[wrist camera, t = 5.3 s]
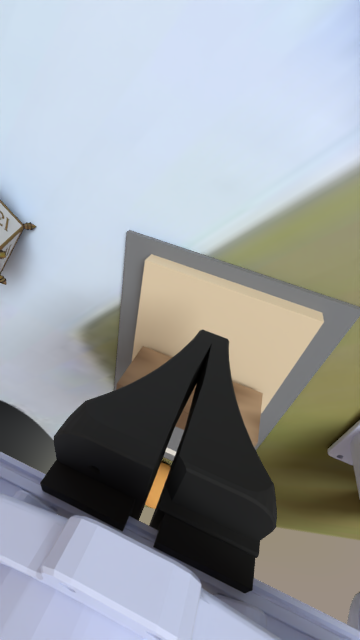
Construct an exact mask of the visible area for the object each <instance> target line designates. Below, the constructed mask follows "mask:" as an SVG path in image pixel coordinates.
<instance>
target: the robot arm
mask: <svg viewBox="0 0 360 640" xmlns="http://www.w3.org/2000/svg"><path fill="white" fill-rule="evenodd" d="M196 383H197V384H196ZM195 385H196V388H195V392H194V396H193V399H192V403H191V407H190V411H189V415H188V418H187V422H186V426H185V429H184V432H183V435H182V438H181V441H180V443H179V446H178V449H177V452H176V454H175V457H174V460H173V463H172V465H171V468H170V471H169V474H168V476H167V479H166V482H165V484H164V487H163V490H162V493H161V495H160V498H159V501H158V504H157V506H156V509H155V512H154V515H153V517H152V520H151V523H150V525H149V526H148V525H146V524H144V523H142V522H140V521H139V518H140V516H141V513H142V510H143V508H144V505H145V503H146V500H147V498H148V495H149V492H150V490H151V487H152V485H153V482H154V479H155V477H156V474H157V472H158V469H159V467H160V464H161V461H162V459H163V456H164V454H165V451H166V449H167V446H168V443H169V441H170V438H171V436H172V433H173V431H174V428H175V426H176V424H177V422H178V419H179V417H180V415H181V413H182V411H183V409H184V407H185V405H186V403H187V401H188V399H189V397H190V395H191V393H192V391H193V389H194V387H195ZM54 446H55V452H56V457H57V460H56V461H55V463H54V464H53V466H52V467H51V468H50V470H49V471H48V473H47V474H44V473H42V472H40V471H38V470H36V469H34V468H32V467H30V466H28V465H26V464H24V463H22V462H20V461H18V460H16V459H14V458H12V457H10V456H8V455H6V454H3V453H2V452H0V640H360V592H359V593H357V594H356V595H355V596H354V598H353V600H352V603H351V606H350V612H349V616H348V622H347V624H345V623H343V622H341V621H339V620H337V619H335V618H333V617H331V616H329V615H327V614H325V613H323V612H321V611H319V610H317V609H315V608H313V607H311V606H309V605H307V604H305V603H303V602H301V601H299V600H297V599H295V598H293V597H291V596H289V595H287V594H285V593H283V592H281V591H279V590H277V589H275V588H273V587H271V586H269V585H267V584H265V583H263V582H261V581H259V580H257V579H255V578H254V566H255V558H257V557H258V555H259V545H260V540H261V539H263V538H264V537H266V536H267V535H268V534H270V533H271V532H272V531H273V530H274V529H275V528H276V520H277V508H276V497H275V489H274V484H273V482H272V481H271V479H270V477H269V475H268V473H267V472H266V470H265V468H264V466H263V464H262V462H261V460H260V458H259V456H258V454H257V452H256V450H255V448H254V446H253V444H252V441H251V439H250V436H249V434H248V432H247V429H246V427H245V424H244V422H243V419H242V416H241V413H240V410H239V407H238V403H237V400H236V396H235V392H234V387H233V383H232V377H231V370H230V362H229V340H228V339H227V338H224V337H221V336H219V335H216V334H213V333H211V332H208V331H205V330H200V331H199V332H198V334H197V335H196V336H195V337H194V338H193V339H192V340H191V341H190V342H189V343H188V344H187V345H186V346H185V347H184V348H183V349H182V350H181V351H180V352H179V353H177V354H176V355H175V356H174V357H172V358H171V359H170V360H168V361H167V362H166V363H164V364H163V365H161V366H160V367H159V368H157V369H155V370H154V371H152V372H151V373H149V374H147V375H145V376H144V377H142V378H140V379H138V380H136V381H134V382H132V383H130V384H128V385H126V386H124V387H121V388H119V389H117V390H115V391H112V392H110V393H107V394H104V395H102V396H99V397H96V398H93V399H90V400H87V401H85V402H84V403H83V404H82V405H81V406H80V407H78V408H77V409H76V410H75V411H74V412H73V413H72V414H71V415H70V416H69V418H68V419H67V420H66V421H65V423H64V424H63V425H62V426H61V428H60V429H59V430H58V432H57V433H56V434H55V436H54ZM328 455H329V456H331V457H333V458H336V459H338V460H340V461H343V462H345V463H348V464H350V465H353V467H354V472H355V477H356V482H357V488H358V493H359V498H360V420H359V421H358V422H357V423H356V424H355V425H354V426H353V427H351V428H350V429H349V430H348V431H347V432H346V433H345V434H344V435H343V436H341V437H340V438H339V439H338V440H337V441H336V442H335V443H334V444H333V445H332V446H330V447H329V448H328ZM57 514H58V515H57Z"/></svg>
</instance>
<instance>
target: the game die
mask: <svg viewBox="0 0 360 640" xmlns="http://www.w3.org/2000/svg"><path fill="white" fill-rule="evenodd" d="M35 227H36V226H35V225H33V224H31V222H30V223H26V224H22V222H21V221H20V220H19V219H18V218H17V217H16V216H15V215H14V214H13V213H12V212H11V211H10V210H9V209H8V207H7V206H6V205H5V204H4V203H3V202H2V201H1V200H0V274H1V272H2V270H3V268H4V266H5V264H6V262H7V260H8V258H9V256H10V255H11V253H12V251H13V249H14V247H15V245H16V243H17V241H18V239H19V237H20V235H21V233H22V231H23V229H27V230H29V229H31V230H32V229H33V228H35ZM0 283H2V284H5V285H6V279H5V278H4V276H1V275H0Z"/></svg>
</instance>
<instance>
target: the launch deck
mask: <svg viewBox="0 0 360 640" xmlns="http://www.w3.org/2000/svg"><path fill="white" fill-rule="evenodd" d="M359 316H360V307H358V306H355V305H352V304H349V303H346V302H343V301H340V300H337V299H334V298H331V297H328V296H325V295H322V294H319V293H316V292H313V291H310V290H307V289H304V288H301V287H298V286H295V285H292V284H289V283H286V282H283V281H280V280H277V279H274V278H272V277H269V276H266V275H263V274H260V273H257V272H254V271H251V270H248V269H245V268H242V267H239V266H236V265H233V264H230V263H227V262H224V261H221V260H218V259H215V258H212V257H209V256H206V255H203V254H200V253H197V252H194V251H191V250H188V249H185V248H182V247H179V246H176V245H173V244H170V243H167V242H164V241H161V240H158V239H155V238H152V237H149V236H146V235H143V234H140V233H137V232H134V231H131V230H129V231H127V237H126V250H125V262H124V274H123V286H122V299H121V311H120V323H119V335H118V347H117V360H116V372H115V384H114V391H115V390H116V389H117V383H118V381H119V380H120V378H121V377H122V375H123V374H124V373H125V371H126V370H127V368H128V367H129V365H130V364H131V362H132V361H133V359H134V358H135V357H136V355H137V354H138V352H139V351H140V349H141V348H142V346H144V347H147V348H149V349H152V350H154V351H157V352H159V353H162V354H164V355H167V356H169V357H174V356H175V355H176V354H177V353H179V352H180V351H181V350H182V349H183V348H184V347H185V346H186V345H187V344H188V343H189V342H190V341H191V340H192V339H193V338H194V337H195V336H196V335H197V334H198V332H199V331H200V330H205V331H208V332H211V333H213V334H216V335H219V336H221V337H224V338H227V339H228V340H229V362H230V370H231V377H232V381H233V382H235V383H238V384H240V385H243V386H246V387H248V388H251V389H253V390H256V391H258V392H261V393H263V397H262V406H261V416H260V426H259V436H258V443H257V444H256V446H255V447H254V448H255V450H257V448H258V447H259V446H260V444H261V443H262V442H263V441H264V439H265V438H266V437H267V435H268V434H269V433H270V431H271V430H272V429H273V428H274V426H275V425H276V424H277V422H278V421H279V420H280V419H281V417H282V416H283V415H284V413H285V412H286V411H287V409H288V408H289V407H290V406H291V404H292V403H293V402H294V400H295V399H296V398H297V397H298V395H299V394H300V393H301V391H302V390H303V389H304V387H305V386H306V385H307V384H308V382H309V381H310V380H311V378H312V377H313V376H314V375H315V373H316V372H317V371H318V369H319V368H320V367H321V365H322V364H323V363H324V362H325V360H326V359H327V358H328V356H329V355H330V354H331V353H332V351H333V350H334V349H335V347H336V346H337V345H338V343H339V342H340V341H341V340H342V338H343V337H344V336H345V334H346V333H347V332H348V331H349V329H350V328H351V327H352V325H353V324H354V323H355V321H356V320H357V319H358V318H359ZM183 432H184V430H183V429H180V428H178V427H176V426H175V428H174V431H173V433H172V436H171V438H170V441H169V443H168V446H167V449H166V451H165V454H164V456H163V457H165V458H167V459H169V460H171V461H173V460H174V457H175V454H176V452H177V449H178V446H179V443H180V441H181V438H182V435H183Z"/></svg>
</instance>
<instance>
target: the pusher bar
mask: <svg viewBox="0 0 360 640" xmlns="http://www.w3.org/2000/svg"><path fill="white" fill-rule="evenodd" d="M171 358H172V357H169V356H167V355H164V354H162V353H159V352H157V351H154V350H152V349H149V348H147V347H144V346H142V348H141V349H140V351H139V352H138V354H137V355H136V357H135V358H134V359H133V361H132V362H131V364H130V365H129V367H128V368H127V370H126V371H125V373H124V374H123V375H122V377H121V378H120V380H119V381H118V383H117V389H119V388H121V387H124V386H126V385H128V384H130V383H132V382H134V381H136V380H138V379H140V378H142V377H144V376H145V375H147V374H149V373H151V372H152V371H154V370H155V369H157V368H159V367H160V366H161V365H163V364H164V363H166V362H167V361H168V360H170V359H171ZM232 383H233V387H234V392H235V396H236V400H237V403H238V407H239V410H240V413H241V416H242V419H243V422H244V424H245V427H246V429H247V432H248V434H249V436H250V439H251V441H252V444H253V446H254V447H255V446H256V444H257V443H258V436H259V426H260V416H261V406H262V397H263V393H261V392H258V391H256V390H253V389H251V388H248V387H246V386H243V385H240V384H238V383H235V382H233V381H232ZM196 384H197V383H196ZM195 388H196V385H195V387H194V389H193V391H192V393H191V395H190V397H189V399H188V401H187V403H186V405H185V407H184V409H183V411H182V413H181V415H180V417H179V419H178V422H177V424H176V427H178V428H180V429H183V430H184V429H185V426H186V422H187V418H188V415H189V411H190V407H191V403H192V399H193V396H194V392H195ZM117 389H116V390H117Z"/></svg>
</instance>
